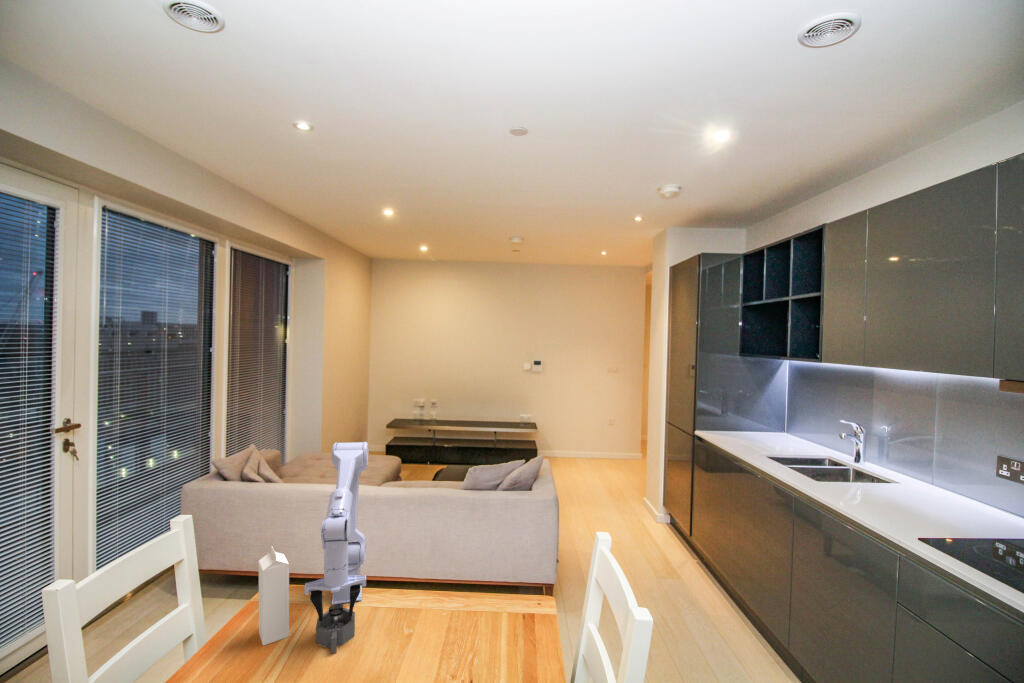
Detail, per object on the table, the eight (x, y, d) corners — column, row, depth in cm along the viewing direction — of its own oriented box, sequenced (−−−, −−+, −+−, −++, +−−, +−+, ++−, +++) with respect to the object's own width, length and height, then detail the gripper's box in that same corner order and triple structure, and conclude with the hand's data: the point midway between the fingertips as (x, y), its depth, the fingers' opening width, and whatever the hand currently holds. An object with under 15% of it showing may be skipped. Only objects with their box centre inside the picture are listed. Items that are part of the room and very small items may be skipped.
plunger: (324, 627, 121) (324, 602, 121) (348, 623, 123) (349, 599, 122) (322, 642, 115) (322, 616, 115) (347, 638, 117) (347, 612, 117)
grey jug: (318, 626, 122) (318, 611, 122) (355, 620, 125) (355, 606, 124) (313, 657, 111) (313, 640, 111) (353, 650, 114) (353, 634, 113)
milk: (262, 646, 114) (261, 558, 113) (258, 632, 119) (257, 548, 118) (289, 636, 118) (289, 551, 117) (284, 623, 123) (283, 541, 122)
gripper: (302, 576, 112) (302, 631, 113) (366, 568, 116) (365, 621, 117) (306, 561, 119) (306, 613, 120) (366, 554, 123) (365, 604, 124)
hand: (335, 616), depth 119 cm, fingers open, 6 cm apart
